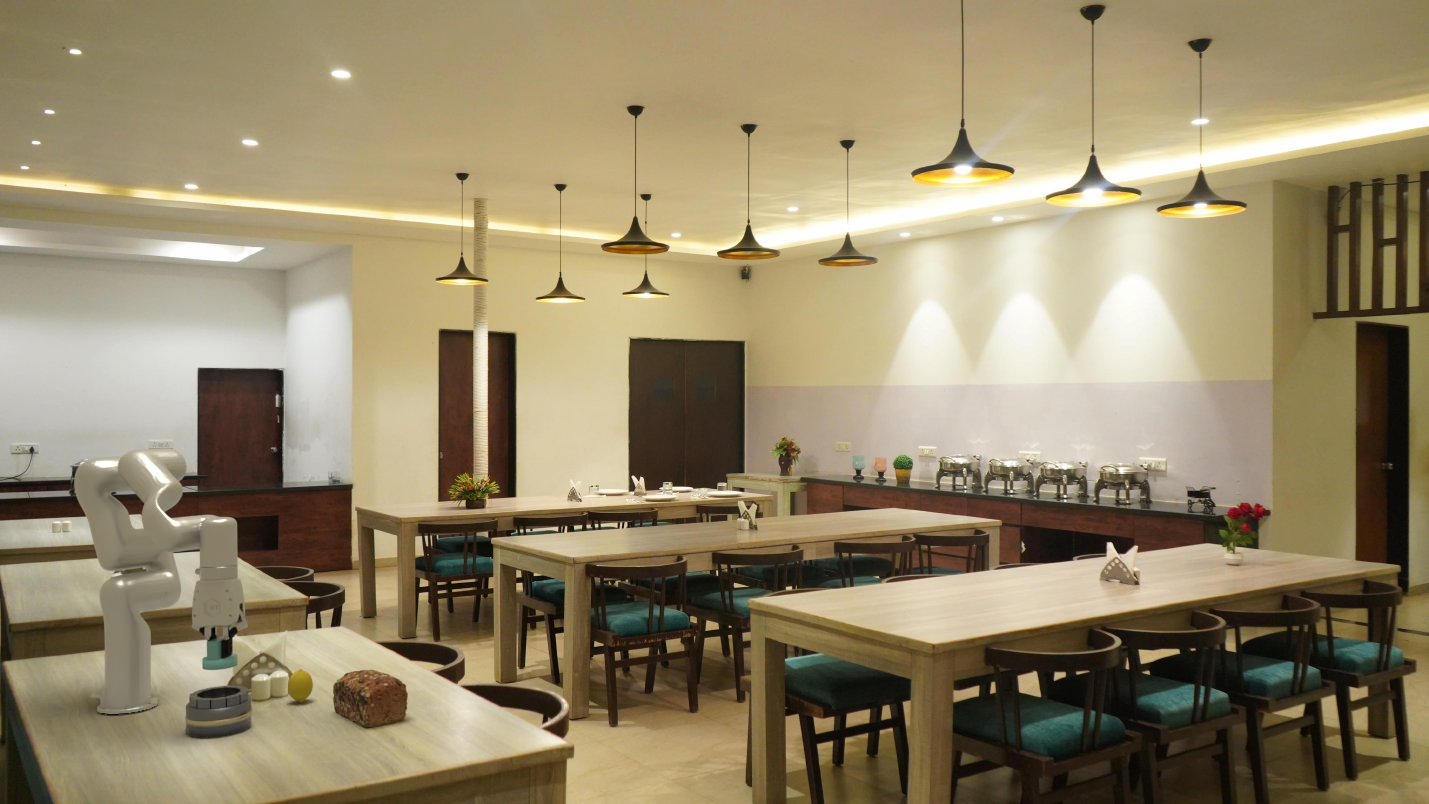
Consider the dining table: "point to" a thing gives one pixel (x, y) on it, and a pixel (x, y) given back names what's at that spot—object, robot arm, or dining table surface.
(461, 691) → the dining table surface
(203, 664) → the teal knob
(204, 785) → the dining table surface
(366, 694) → the bread
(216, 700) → the lens barrel
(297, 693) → the lemon
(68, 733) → the dining table surface
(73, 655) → the dining table surface
